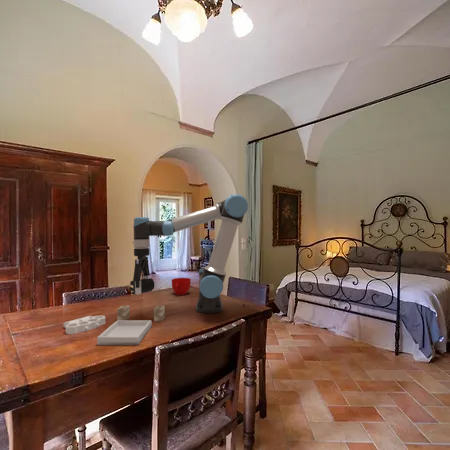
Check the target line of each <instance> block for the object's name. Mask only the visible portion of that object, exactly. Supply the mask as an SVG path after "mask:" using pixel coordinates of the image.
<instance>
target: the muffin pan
mask: <svg viewBox="0 0 450 450" xmlns="http://www.w3.org/2000/svg"><path fill="white" fill-rule="evenodd" d="M102 325H106V316H105V315H94V316H93V315H86V316H84V317H83V316H82V317H79V318H76V319H72V320H69V321H65V322H64V323H63V328H65V334H66V335H75V334H78V333H85V332H87V331H90V330H95V329H97V328H99V327H100V326H102Z"/></svg>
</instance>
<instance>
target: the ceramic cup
mask: <svg viewBox="0 0 450 450" xmlns="http://www.w3.org/2000/svg"><path fill="white" fill-rule="evenodd" d="M191 280H192V279H191V278H189V277H175V278H173V279H171V288H172V290H173V292H174V293H175V295H177V296H185V295H186V294H188V292H189V290H190V287H191V282H192V281H191Z"/></svg>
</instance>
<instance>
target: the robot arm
mask: <svg viewBox="0 0 450 450" xmlns="http://www.w3.org/2000/svg"><path fill="white" fill-rule="evenodd" d="M248 210H249V204H248V201H247V199H246V197H244V196H243V195H241V194H240V193H239V194H237V193H233V194H231V195H228V196H227V198H225V199H224V200H223V201H222V200H221V201H220V202H217V203H215V205H214V206H213V205H212V206H210V207H207V208H203V209H200V210H197V211H193V212H190V213H186V214H183V215H181V216H177V217H174V218H171V219H167V220H150V217H148V216H142V217H141V216H140V217H139V216H136V217H134V218H133V226H132V227H133V241H132V243H133V248H134V249H133V256H134V257H137V259H135V260H134V272H133V277H132V278H133V279H132V281H135V294H136V295H142V293H141V279H149V276H151V273H150V265H149V256H150V248H149V247H150V237H155V236H156V237H161V236H162V237H163V236H165V237H169V236H170V237H171V236H173V235H174V233H178V232H180V231H183V230H186V229H190V228H192V227H193V228H194V227H196V226H199V225H202V224H206V223H209V222H213V221H216V220H220V221H221V223H220V226H219V229H218V233H217V236H216V239H215V242H214V246H213V248H212V252H211V255H210V259H209V261H208V265H206V266H205V267H203V268H200V269H198V270H199V272H198V298H197V301H196V304H195V311H196V312H198V313H203V314H215V313H220V312H222V311H223V310H224V304H223V301H222V298H221V294H222V292H223V290H224V282H225V279H226V275H227V274H226V271H225V268H226V265H227V263H228V259H229V255H230V252H231V249H232V246H233V243H234V239H235V236H236V234H237V233H236V232H237V229H238V226H240V225H242V224H243V221H244V218H245V215H246V213H247V212H248Z"/></svg>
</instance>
